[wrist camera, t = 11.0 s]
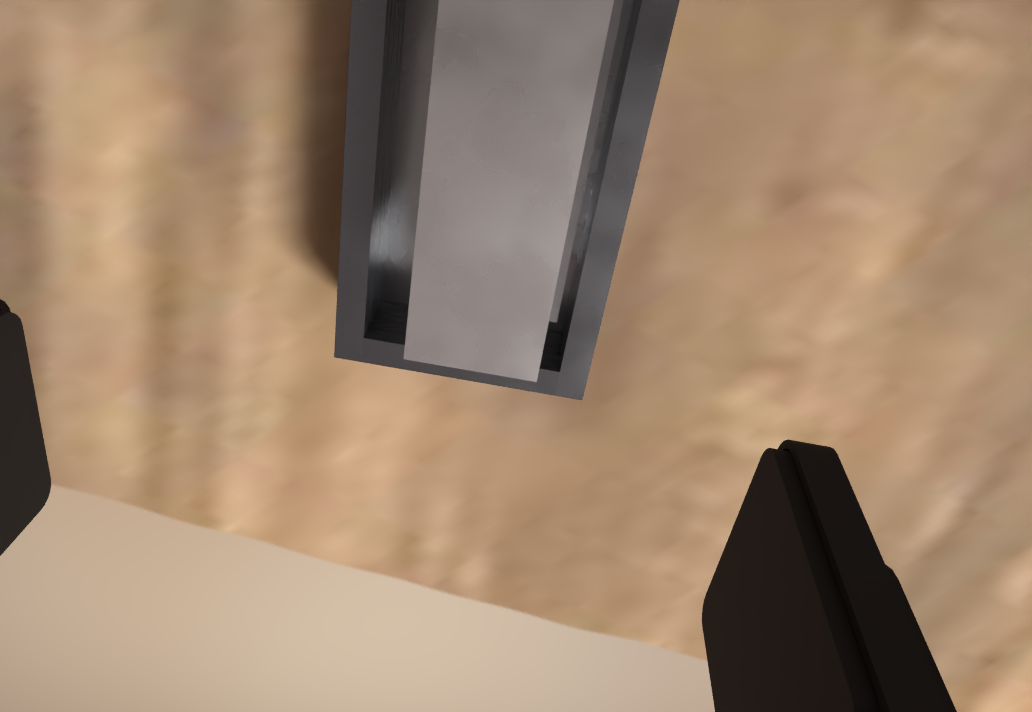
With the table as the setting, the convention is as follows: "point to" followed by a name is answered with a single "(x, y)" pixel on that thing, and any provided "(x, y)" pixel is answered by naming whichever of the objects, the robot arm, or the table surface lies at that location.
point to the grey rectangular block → (504, 176)
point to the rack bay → (397, 179)
